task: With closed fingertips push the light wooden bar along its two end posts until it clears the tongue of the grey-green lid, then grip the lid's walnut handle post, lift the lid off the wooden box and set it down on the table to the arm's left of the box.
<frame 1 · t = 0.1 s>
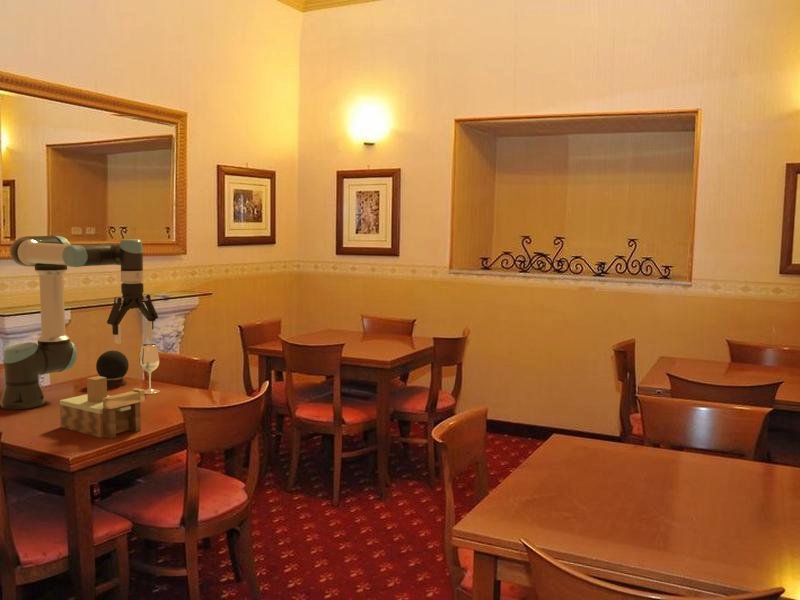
hand: (133, 341, 272), 28 cm above the table, fingers open, 13 cm apart
light wooden bar: (123, 398, 254), point 12 cm above the table, slide at 0.0 cm
wineglass: (150, 392, 314), on the table
wooden box: (98, 427, 261), on the table
dark ball on base: (113, 385, 327), on the table
lid: (97, 404, 260), point 8 cm above the table, touching wooden box
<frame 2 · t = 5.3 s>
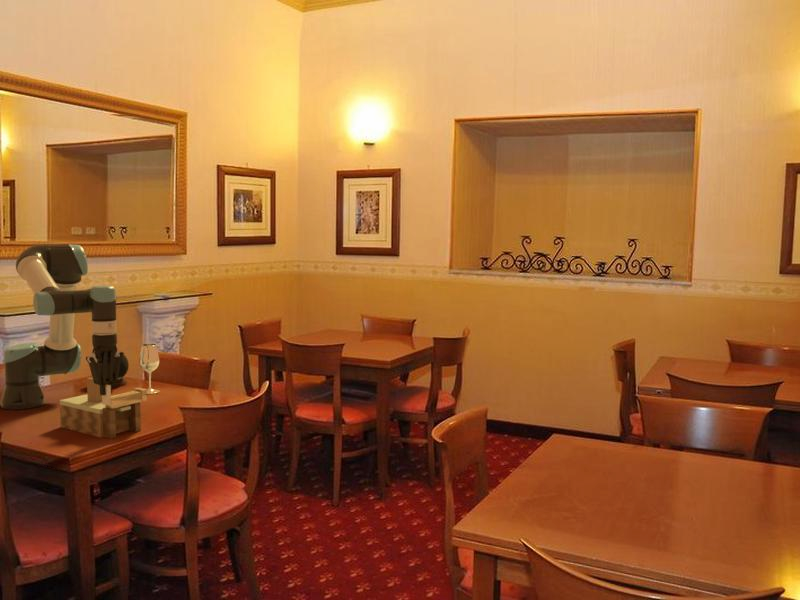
hand: (106, 404, 248), 11 cm above the table, fingers closed
light wooden bar: (126, 398, 255), point 12 cm above the table, slide at 0.9 cm, touching gripper
everything else where it was.
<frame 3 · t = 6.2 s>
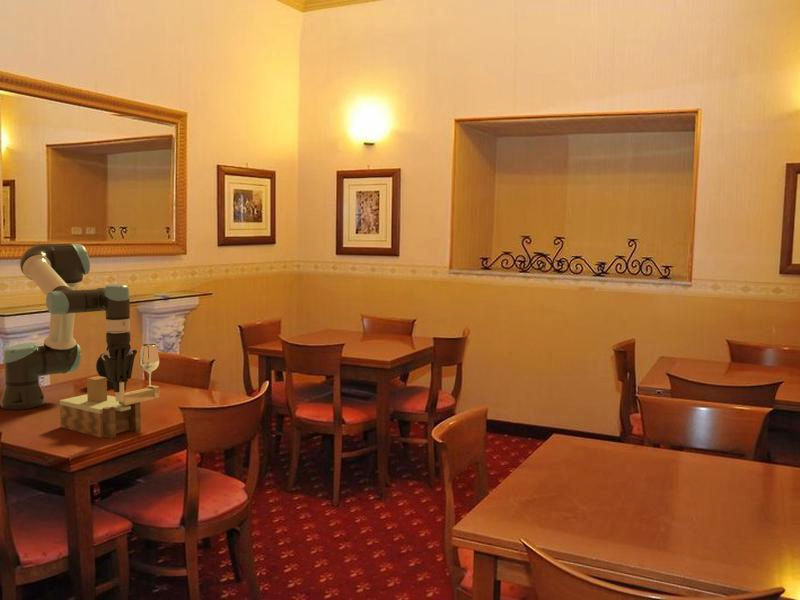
hand: (120, 401, 253), 11 cm above the table, fingers closed
light wooden bar: (138, 395, 259), point 12 cm above the table, slide at 6.1 cm, touching gripper
everything else where it was.
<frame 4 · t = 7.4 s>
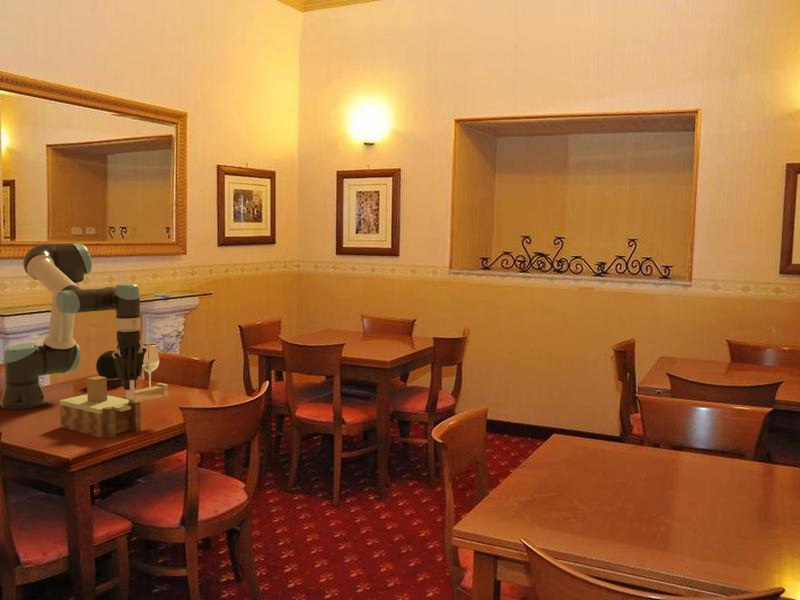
hand: (130, 398, 256), 11 cm above the table, fingers closed
light wooden bar: (148, 392, 262), point 12 cm above the table, slide at 10.1 cm, touching gripper
everything else where it was.
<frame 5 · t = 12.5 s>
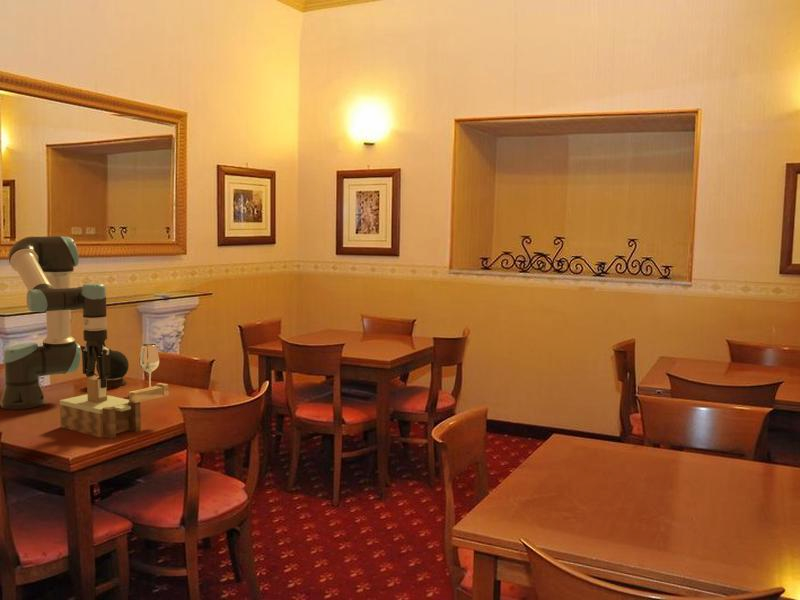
hand: (97, 395, 260), 11 cm above the table, fingers closed on lid, 4 cm apart
light wooden bar: (148, 392, 262), point 12 cm above the table, slide at 10.2 cm
lid: (97, 404, 260), point 8 cm above the table, touching gripper, wooden box
everything else where it was.
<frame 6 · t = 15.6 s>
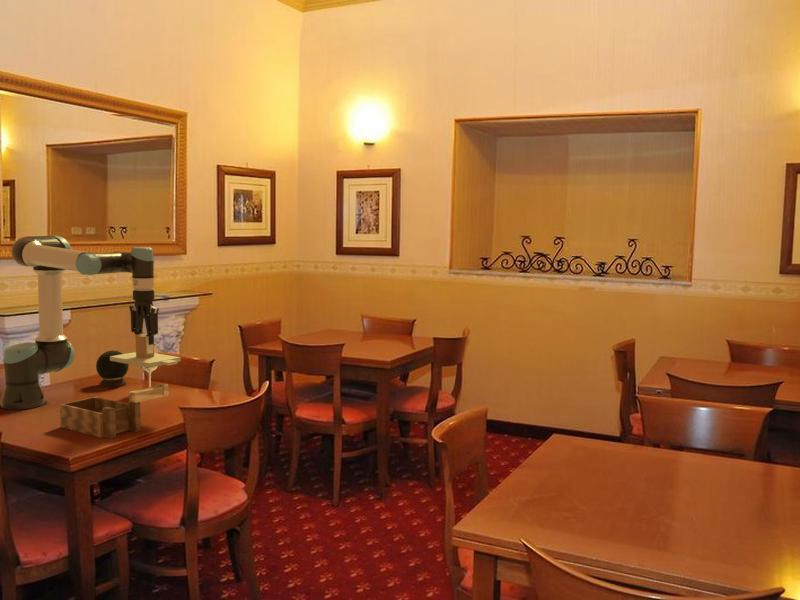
hand: (145, 352, 278), 23 cm above the table, fingers closed on lid, 4 cm apart
lid: (145, 360, 279), point 20 cm above the table, touching gripper
everything else where it was.
when the fingers open (6 cm above the table, at t = 18.8 s): lid drops 2 cm, on the table.
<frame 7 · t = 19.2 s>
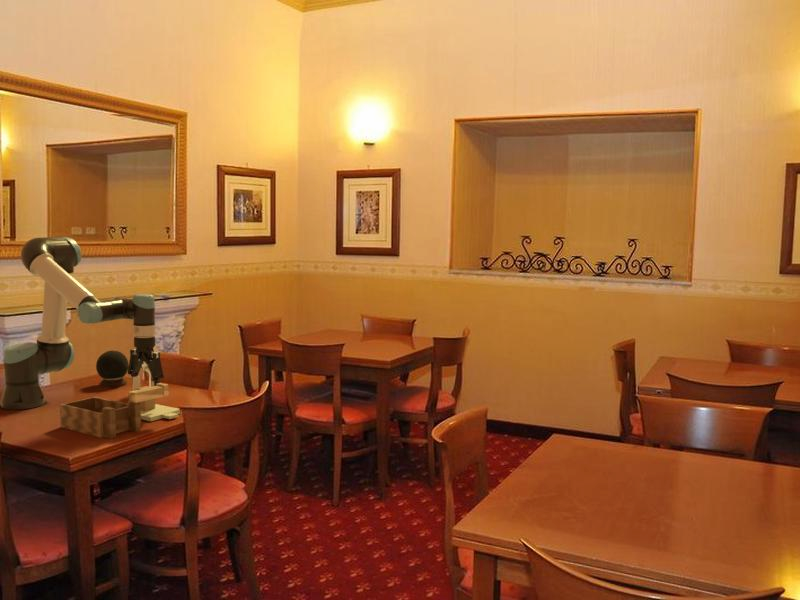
hand: (146, 395, 280), 7 cm above the table, fingers open, 10 cm apart
lid: (146, 412, 281), on the table
everything else where it was.
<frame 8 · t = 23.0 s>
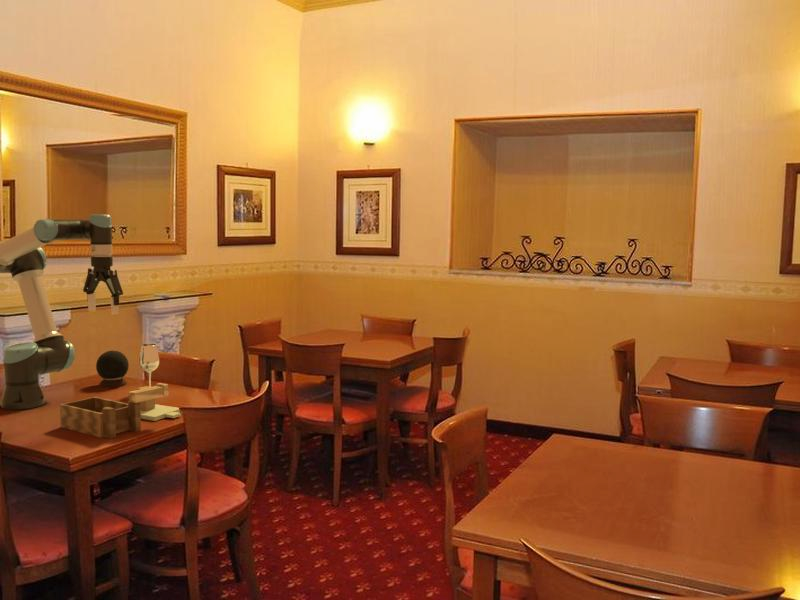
hand: (103, 312, 283), 37 cm above the table, fingers open, 13 cm apart
at the end: light wooden bar slide at 10.2 cm; lid inside the target area (0.1 cm from its centre), on the table; lid tilted 0° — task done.
